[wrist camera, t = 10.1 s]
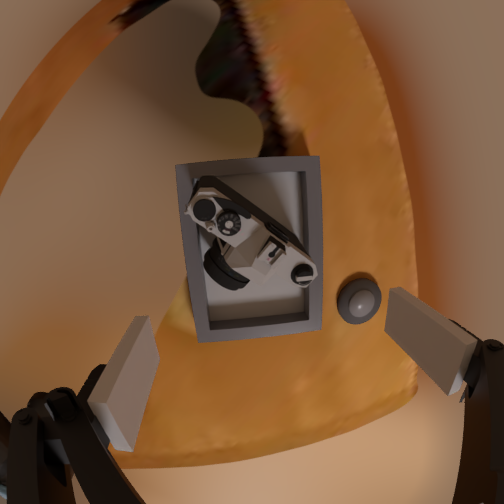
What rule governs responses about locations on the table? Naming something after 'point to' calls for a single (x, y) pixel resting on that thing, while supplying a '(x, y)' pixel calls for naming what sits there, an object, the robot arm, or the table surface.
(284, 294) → the case tray
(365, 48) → the table surface
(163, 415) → the table surface
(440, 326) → the robot arm
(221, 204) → the camera
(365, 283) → the lens cap
